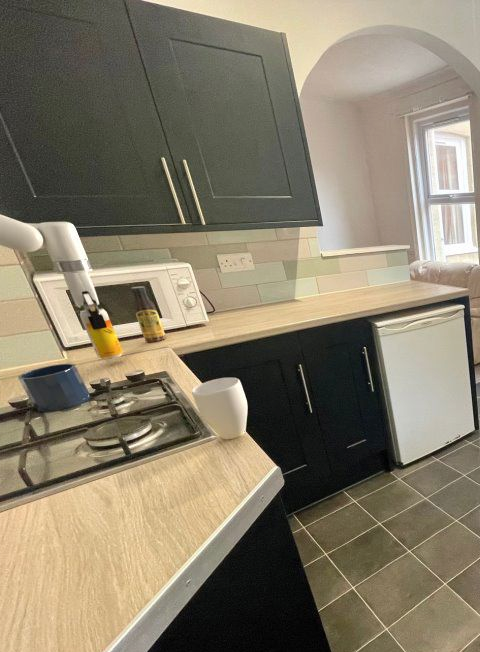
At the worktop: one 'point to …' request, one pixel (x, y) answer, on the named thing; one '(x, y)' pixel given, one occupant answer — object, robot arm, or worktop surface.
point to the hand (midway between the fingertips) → (98, 326)
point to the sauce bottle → (147, 316)
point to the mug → (222, 406)
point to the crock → (55, 387)
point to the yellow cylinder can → (102, 337)
